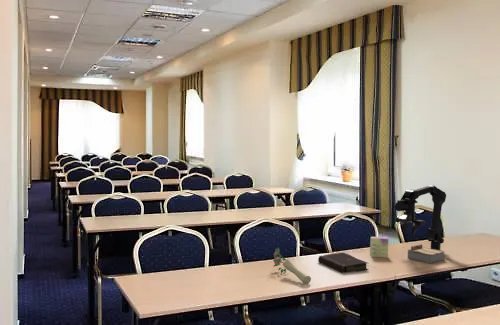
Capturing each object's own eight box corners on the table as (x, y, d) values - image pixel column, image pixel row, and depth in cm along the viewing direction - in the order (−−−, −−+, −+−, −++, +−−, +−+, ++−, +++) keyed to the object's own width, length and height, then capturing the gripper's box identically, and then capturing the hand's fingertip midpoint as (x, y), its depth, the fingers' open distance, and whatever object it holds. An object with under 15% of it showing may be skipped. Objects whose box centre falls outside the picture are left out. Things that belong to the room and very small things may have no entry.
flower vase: (299, 298, 263) (265, 268, 292) (318, 289, 268) (283, 259, 297) (296, 279, 258) (261, 250, 288) (316, 270, 263) (280, 242, 292)
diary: (342, 274, 283) (342, 265, 283) (318, 263, 306) (318, 255, 306) (369, 270, 291) (370, 261, 291) (344, 260, 314) (344, 252, 313)
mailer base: (421, 254, 326) (421, 248, 326) (443, 260, 314) (444, 252, 313) (407, 258, 318) (407, 251, 318) (430, 263, 305) (430, 256, 305)
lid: (421, 247, 326) (421, 243, 326) (444, 252, 313) (444, 248, 313) (407, 250, 318) (407, 246, 317) (430, 255, 305) (431, 251, 305)
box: (386, 255, 325) (387, 236, 324) (388, 257, 319) (388, 238, 319) (369, 254, 326) (370, 236, 325) (371, 257, 320) (371, 238, 320)
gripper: (389, 209, 326) (389, 234, 327) (415, 213, 311) (414, 239, 312) (400, 208, 333) (400, 232, 334) (426, 211, 318) (425, 236, 319)
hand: (409, 234), depth 324 cm, fingers open, 5 cm apart
